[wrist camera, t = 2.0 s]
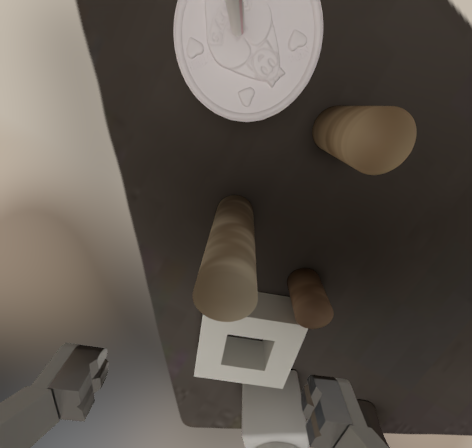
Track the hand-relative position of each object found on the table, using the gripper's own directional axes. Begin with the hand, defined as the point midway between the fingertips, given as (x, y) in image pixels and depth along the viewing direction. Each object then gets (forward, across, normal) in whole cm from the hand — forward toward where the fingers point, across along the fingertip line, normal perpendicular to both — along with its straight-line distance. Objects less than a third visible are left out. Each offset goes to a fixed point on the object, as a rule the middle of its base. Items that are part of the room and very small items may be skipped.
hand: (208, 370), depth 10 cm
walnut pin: (+16, -10, +7) cm, 20 cm away
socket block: (+16, -5, +15) cm, 22 cm away
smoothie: (+16, 0, -12) cm, 20 cm away
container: (+16, -11, +27) cm, 33 cm away
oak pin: (+16, -8, -9) cm, 20 cm away
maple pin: (+16, -1, 0) cm, 16 cm away
